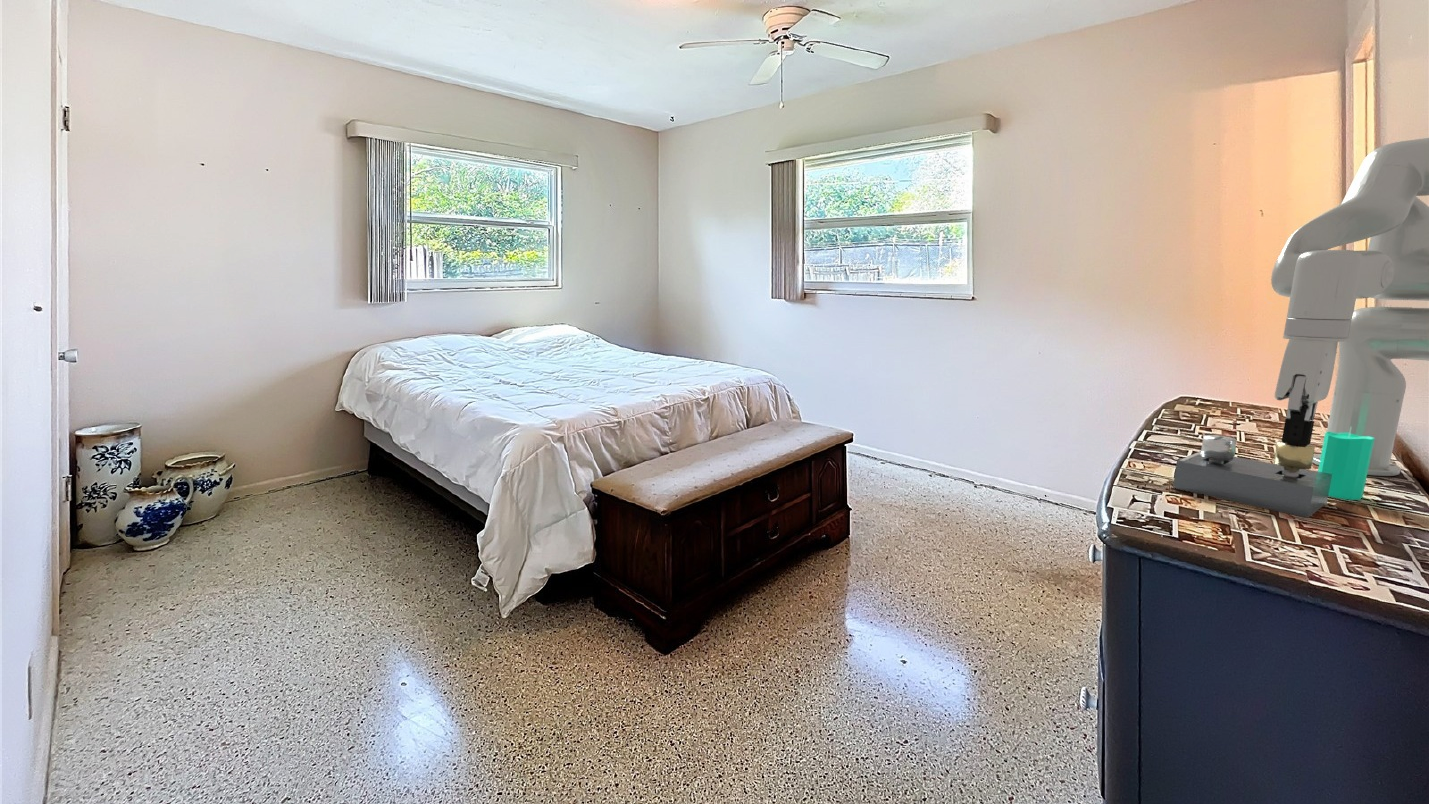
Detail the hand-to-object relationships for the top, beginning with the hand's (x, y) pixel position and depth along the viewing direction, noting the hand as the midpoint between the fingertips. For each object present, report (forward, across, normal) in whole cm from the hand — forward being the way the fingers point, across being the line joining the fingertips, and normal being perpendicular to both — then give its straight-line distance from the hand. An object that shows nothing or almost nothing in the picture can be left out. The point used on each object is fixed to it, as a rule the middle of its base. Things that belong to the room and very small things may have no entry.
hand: (1295, 443), depth 103 cm
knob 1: (+9, 0, -10) cm, 13 cm away
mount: (+10, 0, -5) cm, 11 cm away
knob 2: (+8, 0, 0) cm, 8 cm away
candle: (+10, -14, +4) cm, 18 cm away
